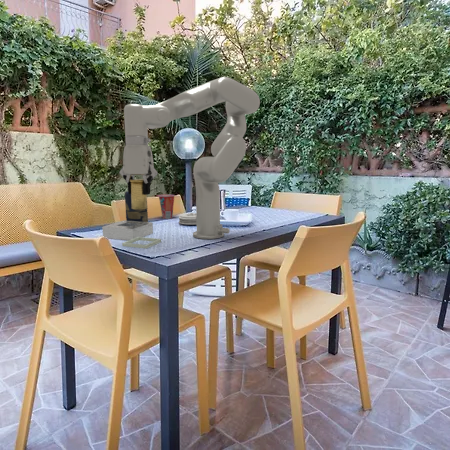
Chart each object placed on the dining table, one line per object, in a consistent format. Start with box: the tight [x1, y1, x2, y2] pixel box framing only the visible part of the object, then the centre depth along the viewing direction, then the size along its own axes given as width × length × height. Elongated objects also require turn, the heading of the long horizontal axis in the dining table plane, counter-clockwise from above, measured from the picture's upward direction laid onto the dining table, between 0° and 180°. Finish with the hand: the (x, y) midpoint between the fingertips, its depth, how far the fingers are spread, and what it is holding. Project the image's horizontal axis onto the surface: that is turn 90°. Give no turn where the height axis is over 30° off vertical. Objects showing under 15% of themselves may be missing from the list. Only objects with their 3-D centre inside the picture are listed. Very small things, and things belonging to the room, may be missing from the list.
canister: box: [124, 190, 149, 222], centre depth 157 cm, size 10×10×18 cm
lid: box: [178, 212, 197, 225], centre depth 169 cm, size 13×13×5 cm
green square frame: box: [121, 237, 162, 249], centre depth 129 cm, size 10×10×2 cm
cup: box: [157, 194, 176, 220], centre depth 183 cm, size 9×8×12 cm
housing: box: [102, 220, 154, 241], centre depth 142 cm, size 14×14×5 cm
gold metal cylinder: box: [130, 178, 148, 209], centre depth 125 cm, size 6×6×10 cm
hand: (139, 193), depth 125 cm, fingers closed on gold metal cylinder, 5 cm apart
